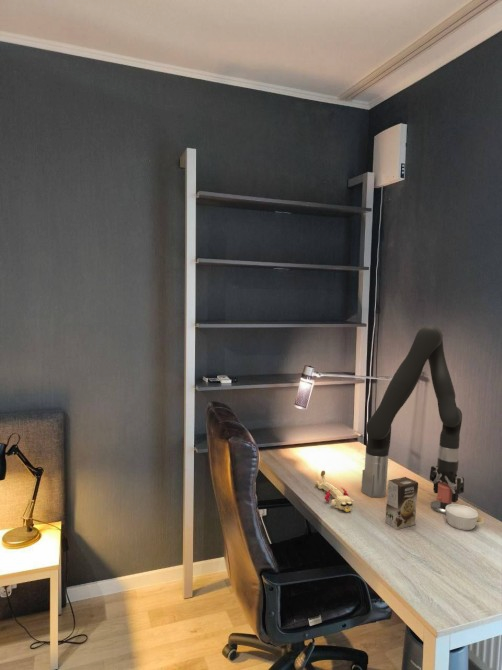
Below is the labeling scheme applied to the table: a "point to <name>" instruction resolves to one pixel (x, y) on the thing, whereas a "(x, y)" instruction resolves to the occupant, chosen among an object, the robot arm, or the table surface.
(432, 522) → the table surface
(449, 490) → the cap
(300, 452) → the table surface
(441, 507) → the grey lamp
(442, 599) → the table surface
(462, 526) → the ramekin
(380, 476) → the robot arm
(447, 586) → the table surface
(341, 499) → the cream toy dragon
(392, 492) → the coffee box
